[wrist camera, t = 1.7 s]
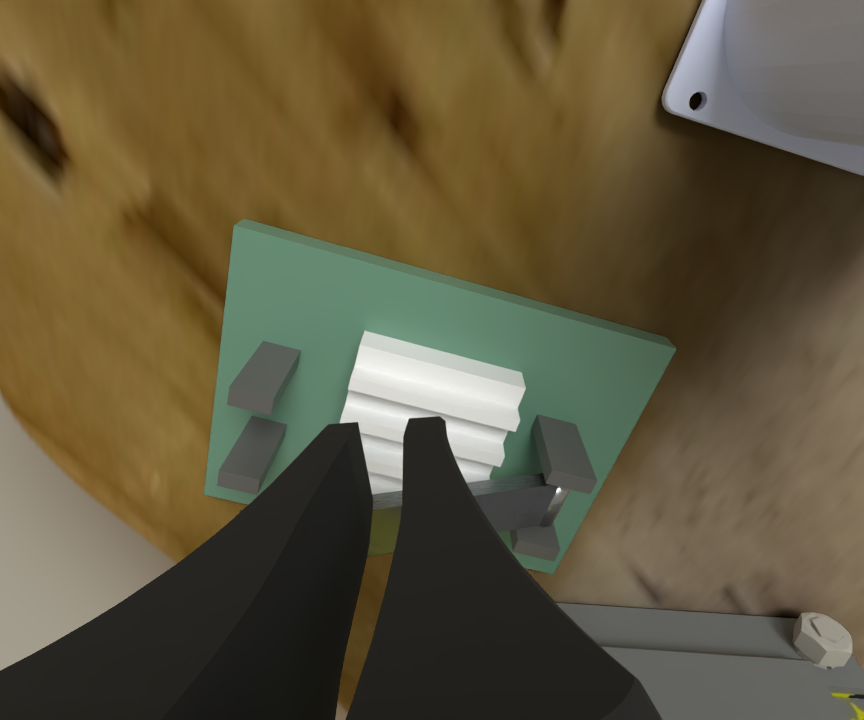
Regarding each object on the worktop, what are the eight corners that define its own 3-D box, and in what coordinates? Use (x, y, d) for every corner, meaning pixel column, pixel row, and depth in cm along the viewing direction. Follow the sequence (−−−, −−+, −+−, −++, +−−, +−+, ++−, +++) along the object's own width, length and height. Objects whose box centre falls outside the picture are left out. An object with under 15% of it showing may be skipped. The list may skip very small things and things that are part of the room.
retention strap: (563, 467, 20) (587, 493, 19) (544, 507, 21) (565, 533, 20) (239, 506, 14) (248, 546, 13) (231, 559, 15) (239, 600, 14)
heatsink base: (666, 337, 20) (719, 397, 16) (549, 557, 26) (567, 642, 22) (244, 218, 19) (189, 253, 15) (213, 479, 24) (166, 556, 20)
